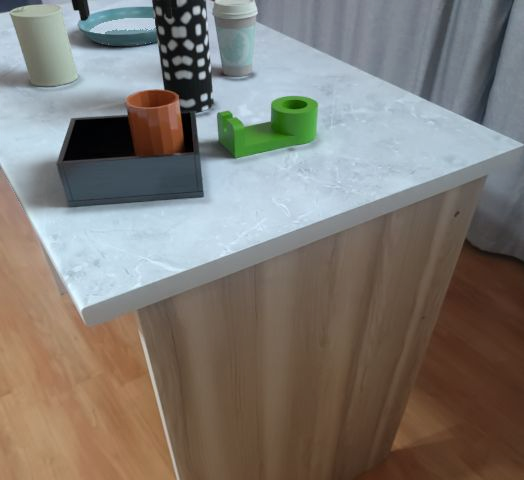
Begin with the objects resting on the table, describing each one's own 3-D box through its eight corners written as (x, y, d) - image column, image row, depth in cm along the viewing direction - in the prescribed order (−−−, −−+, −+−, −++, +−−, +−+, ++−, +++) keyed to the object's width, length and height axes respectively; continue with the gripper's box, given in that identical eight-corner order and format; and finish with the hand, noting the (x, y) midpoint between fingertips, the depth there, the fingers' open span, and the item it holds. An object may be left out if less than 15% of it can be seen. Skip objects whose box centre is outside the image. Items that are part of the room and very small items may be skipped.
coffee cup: (208, 75, 102) (202, 3, 93) (229, 62, 107) (226, -7, 99) (245, 81, 99) (243, 8, 91) (266, 68, 104) (265, -2, 96)
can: (33, 72, 104) (12, 2, 96) (80, 69, 105) (63, -1, 97) (27, 88, 98) (3, 14, 89) (77, 84, 99) (58, 11, 90)
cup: (137, 178, 70) (123, 110, 64) (139, 156, 75) (126, 90, 68) (187, 175, 71) (179, 106, 64) (186, 153, 75) (178, 87, 69)
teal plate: (79, 26, 129) (76, 10, 127) (175, 18, 133) (174, 3, 131) (82, 54, 113) (78, 36, 110) (191, 44, 117) (190, 27, 114)
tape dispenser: (302, 122, 85) (303, 92, 81) (324, 139, 80) (326, 108, 77) (218, 140, 80) (215, 109, 77) (236, 158, 76) (234, 127, 72)
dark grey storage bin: (69, 207, 66) (55, 163, 62) (81, 157, 77) (71, 117, 72) (204, 196, 68) (199, 153, 64) (199, 149, 78) (195, 110, 74)
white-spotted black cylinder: (156, 104, 91) (136, -35, 77) (193, 92, 95) (179, -43, 81) (186, 117, 87) (170, -28, 73) (223, 103, 91) (214, -36, 77)
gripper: (187, -193, 52) (200, 7, 64) (7, -197, 50) (56, 10, 62) (189, -196, 46) (203, 23, 59) (-11, -199, 45) (46, 27, 57)
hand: (127, 16), depth 60 cm, fingers open, 9 cm apart
